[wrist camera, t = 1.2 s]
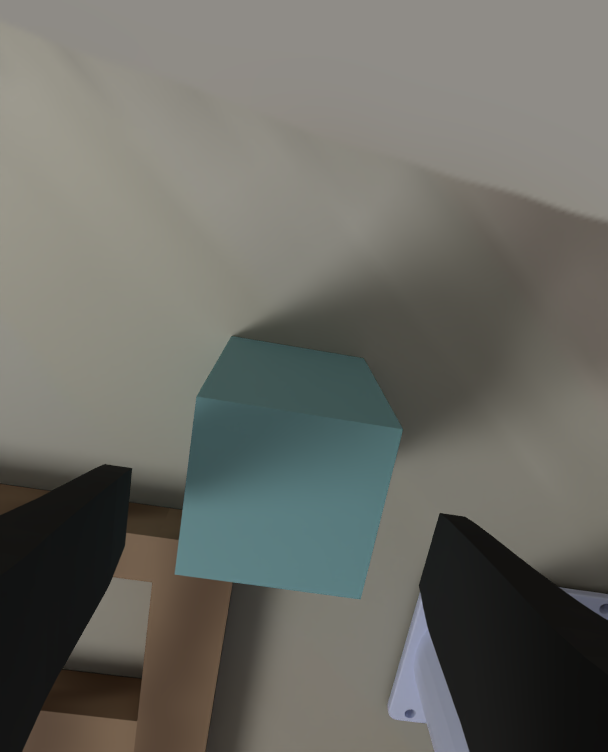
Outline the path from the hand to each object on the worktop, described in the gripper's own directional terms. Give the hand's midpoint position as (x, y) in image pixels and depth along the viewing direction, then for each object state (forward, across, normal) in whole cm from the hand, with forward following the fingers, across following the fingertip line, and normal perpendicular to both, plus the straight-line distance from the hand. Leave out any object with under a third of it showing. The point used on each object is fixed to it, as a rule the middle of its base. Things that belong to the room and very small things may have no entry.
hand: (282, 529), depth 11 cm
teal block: (+8, 0, 0) cm, 8 cm away
